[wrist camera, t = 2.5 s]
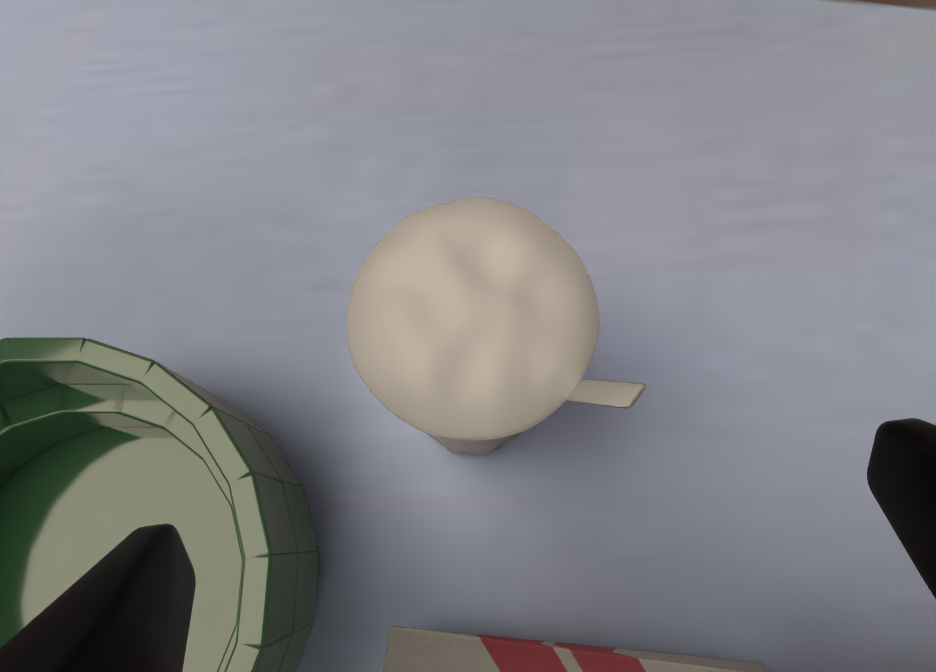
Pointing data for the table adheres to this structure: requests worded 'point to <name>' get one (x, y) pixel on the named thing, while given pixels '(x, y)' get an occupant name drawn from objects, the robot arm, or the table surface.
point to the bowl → (150, 497)
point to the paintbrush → (532, 656)
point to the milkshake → (477, 324)
